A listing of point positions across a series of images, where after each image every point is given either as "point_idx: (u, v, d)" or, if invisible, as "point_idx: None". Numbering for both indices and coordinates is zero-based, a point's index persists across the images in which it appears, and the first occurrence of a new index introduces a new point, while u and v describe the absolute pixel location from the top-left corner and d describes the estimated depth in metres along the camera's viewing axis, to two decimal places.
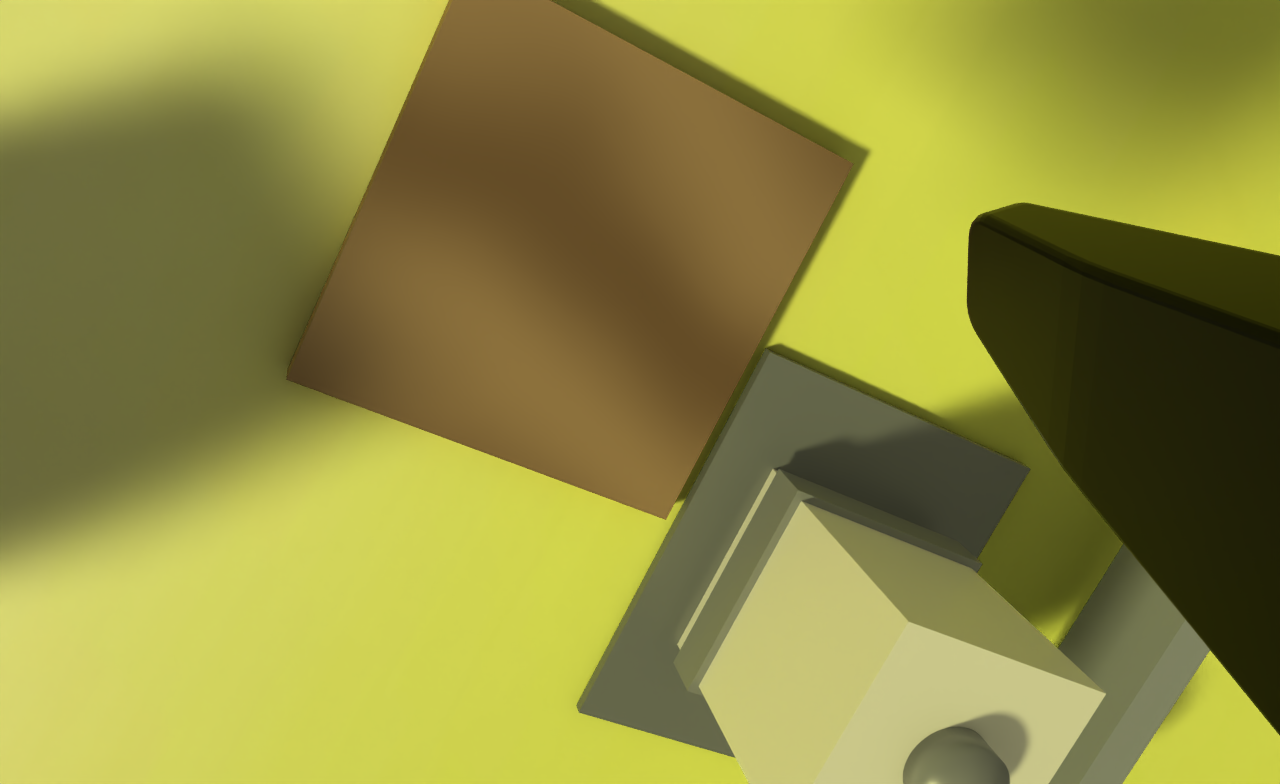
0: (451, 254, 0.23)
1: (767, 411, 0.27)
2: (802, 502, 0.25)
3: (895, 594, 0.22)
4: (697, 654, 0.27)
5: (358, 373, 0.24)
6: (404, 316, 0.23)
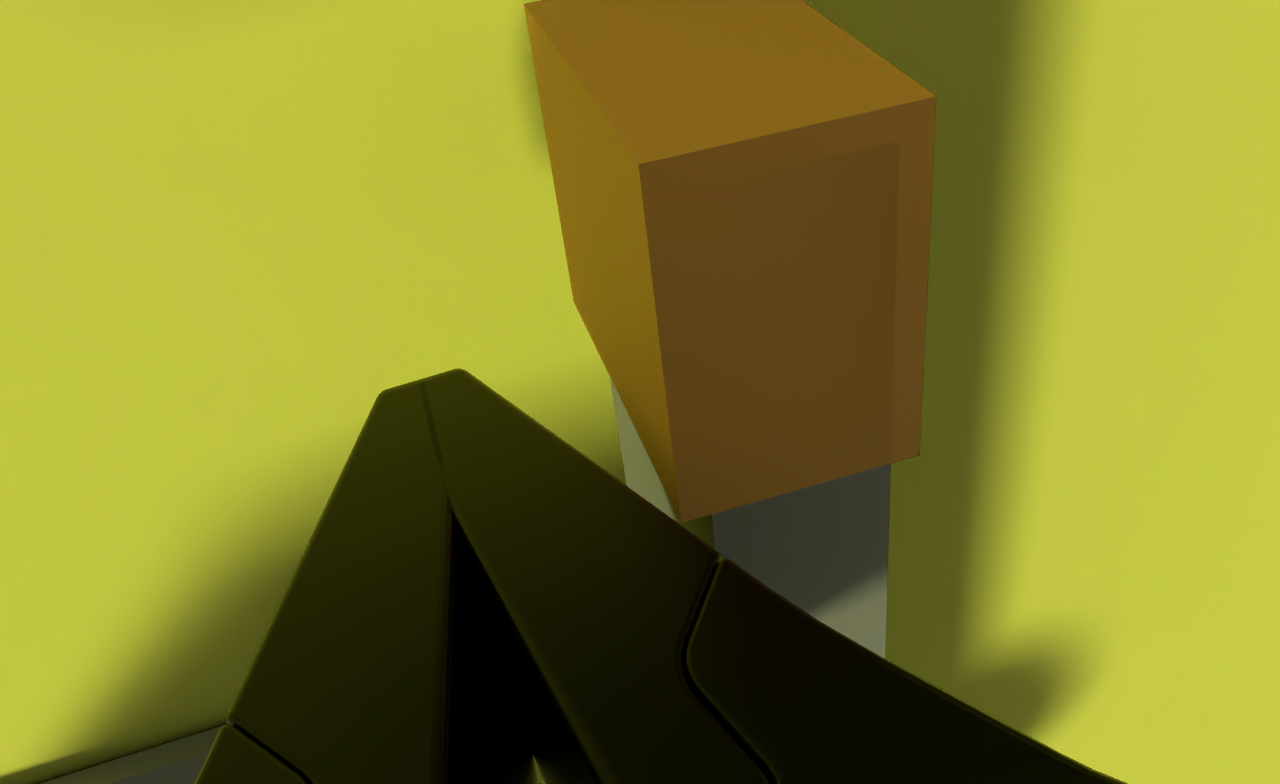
0: None
1: None
2: None
3: None
4: None
5: None
6: None
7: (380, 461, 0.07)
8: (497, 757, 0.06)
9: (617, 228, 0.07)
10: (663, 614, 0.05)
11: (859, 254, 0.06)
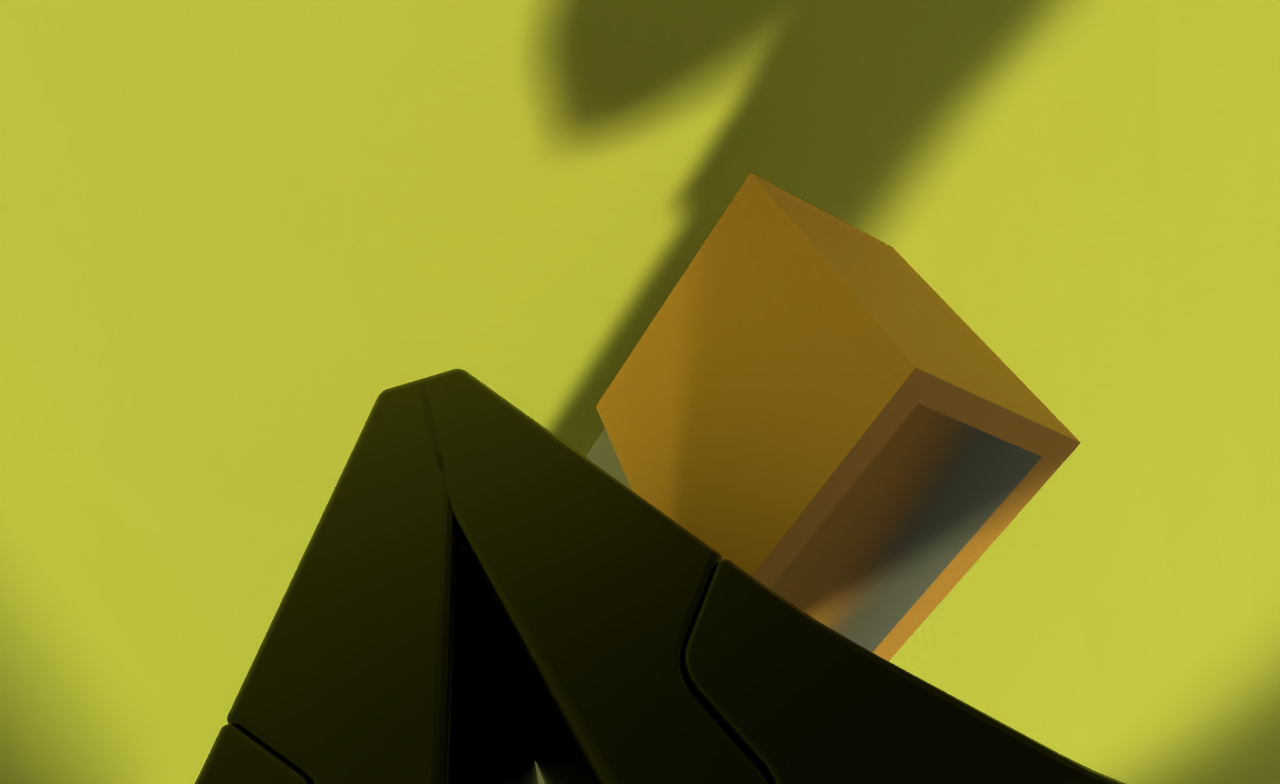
0: None
1: None
2: None
3: None
4: None
5: None
6: None
7: (381, 461, 0.07)
8: (499, 757, 0.06)
9: (803, 391, 0.08)
10: (663, 615, 0.05)
11: (961, 516, 0.08)
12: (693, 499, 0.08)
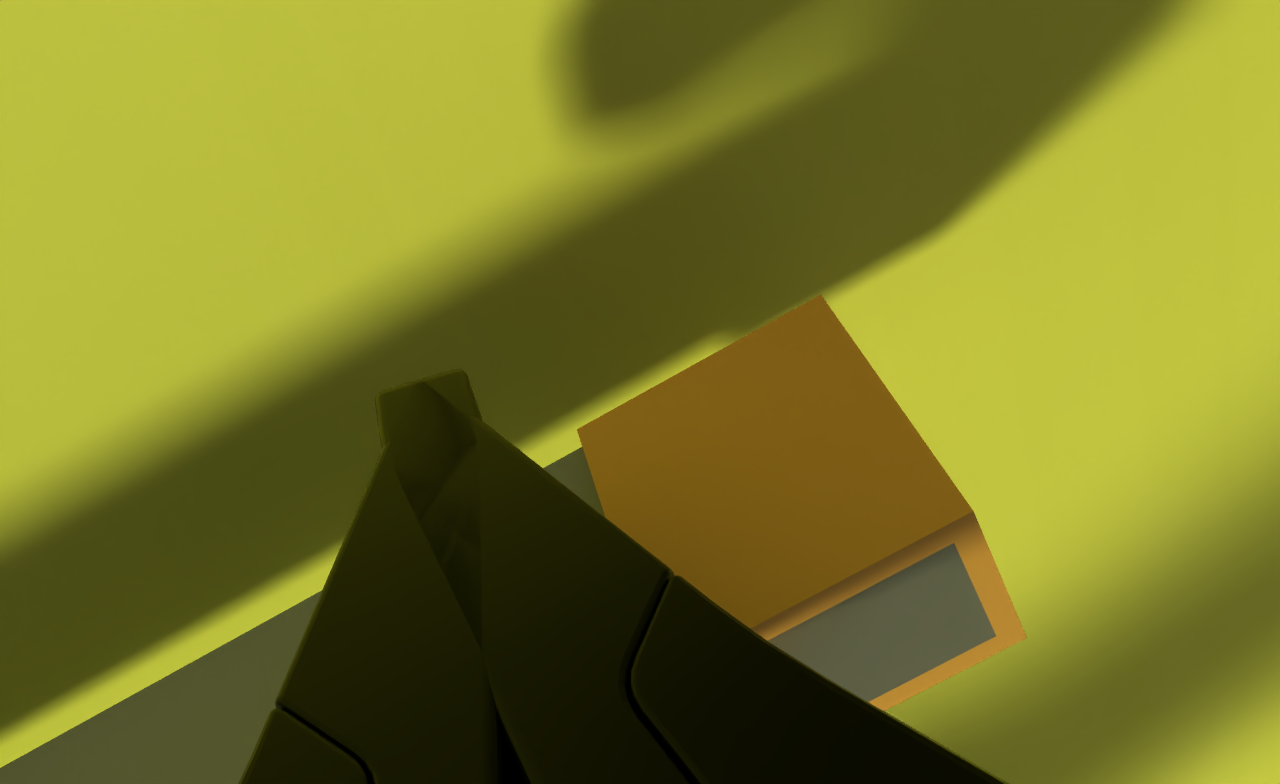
0: None
1: None
2: None
3: None
4: None
5: None
6: None
7: (416, 450, 0.07)
8: None
9: (840, 492, 0.08)
10: (610, 632, 0.05)
11: (913, 659, 0.08)
12: (683, 546, 0.09)
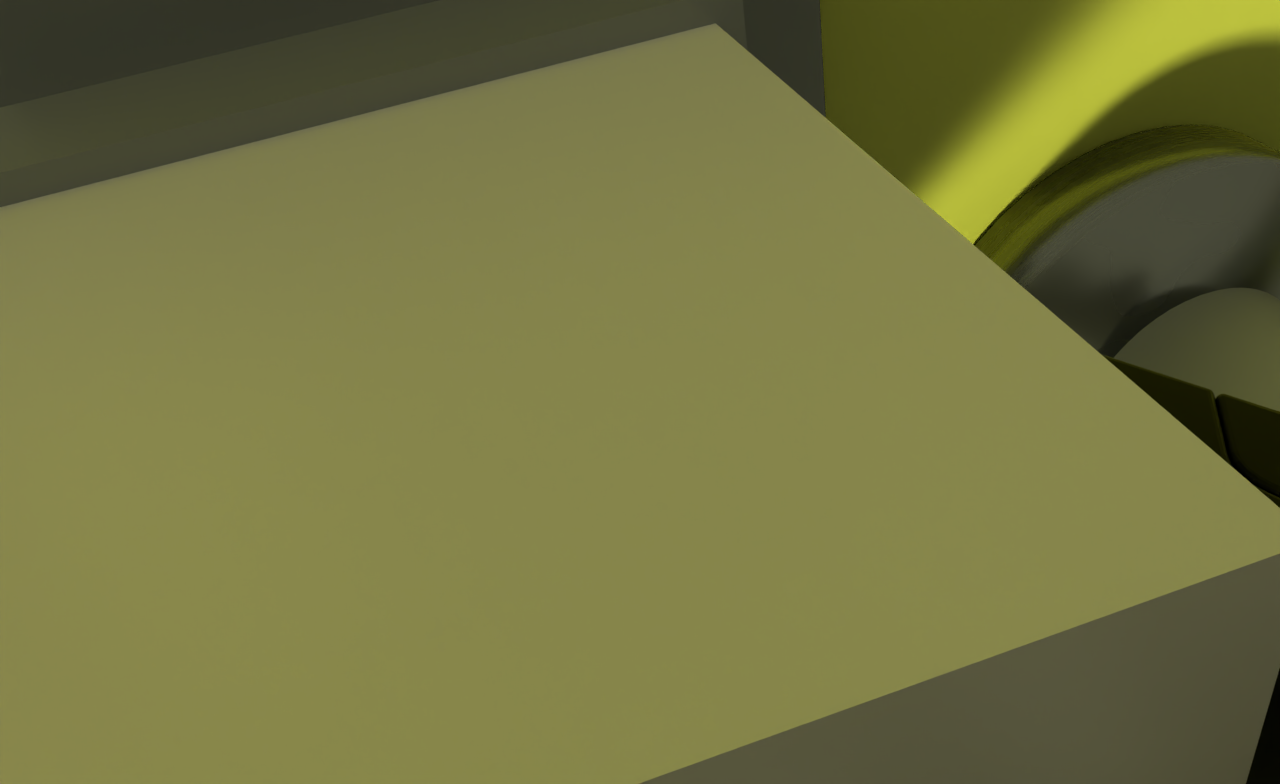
0: None
1: None
2: None
3: None
4: None
5: None
6: None
7: None
8: None
9: None
10: None
11: None
12: None
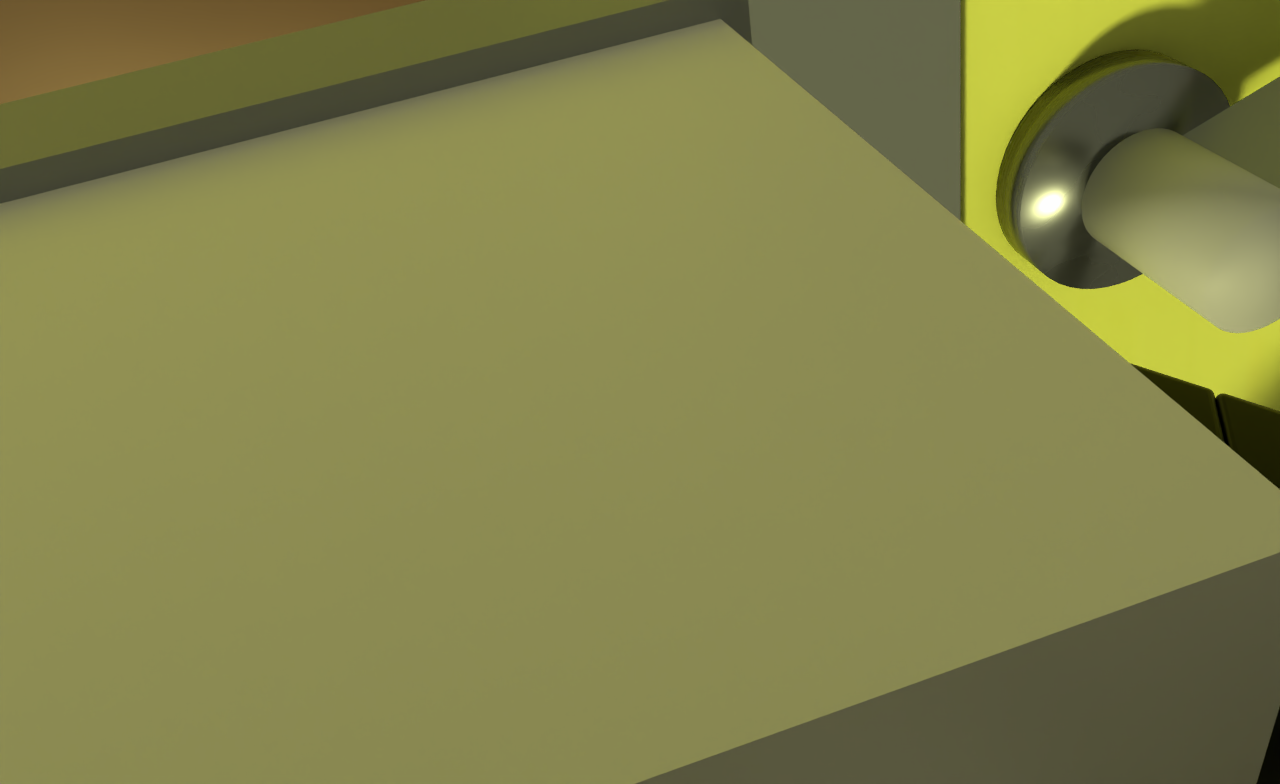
0: (54, 84, 0.18)
1: None
2: None
3: None
4: None
5: None
6: None
7: None
8: None
9: None
10: None
11: None
12: None
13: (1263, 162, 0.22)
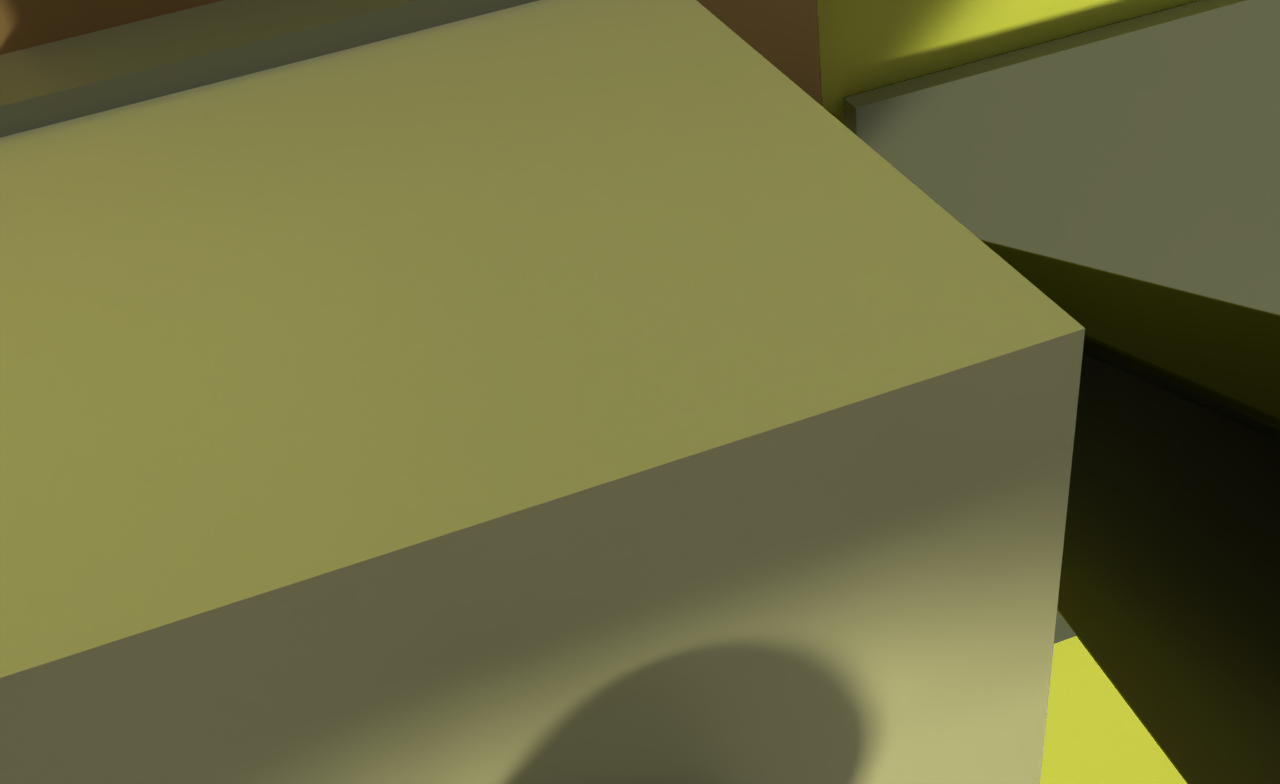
0: None
1: None
2: None
3: None
4: None
5: None
6: None
7: None
8: None
9: None
10: None
11: None
12: None
13: None
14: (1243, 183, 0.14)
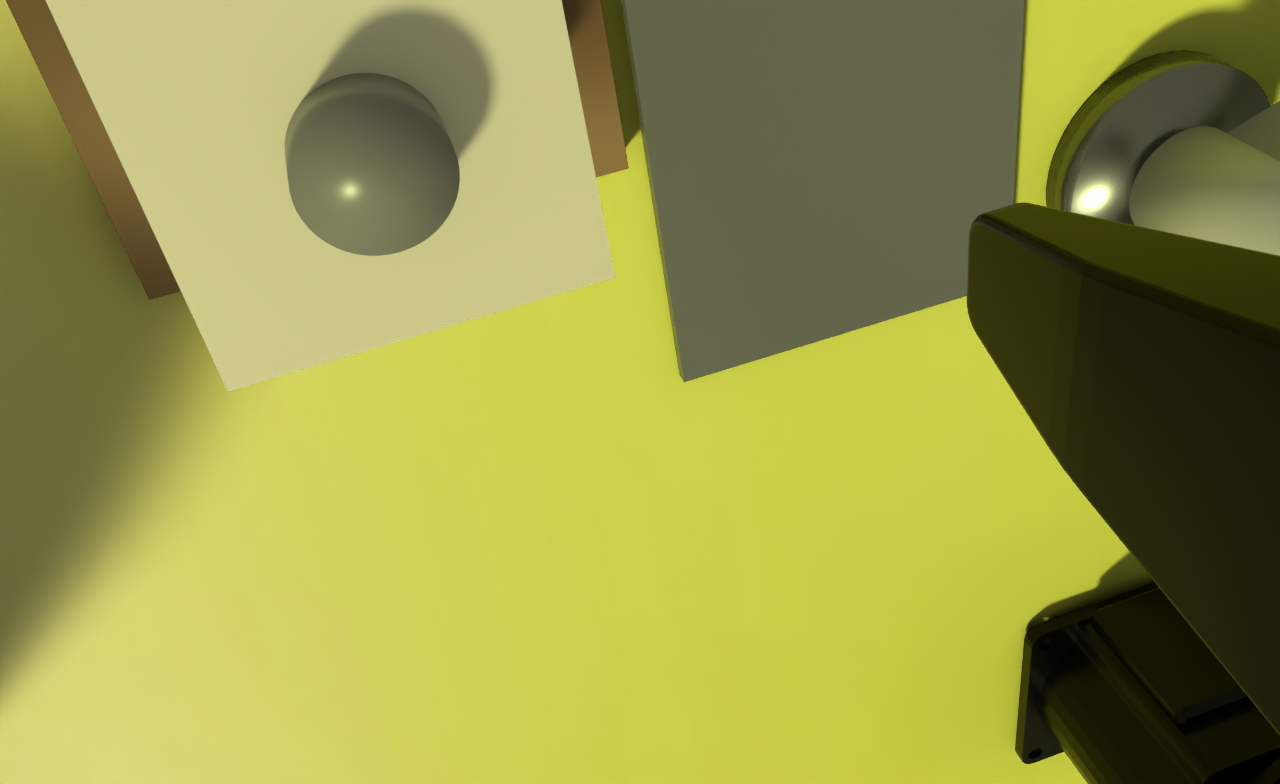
0: None
1: None
2: None
3: None
4: None
5: None
6: None
7: None
8: None
9: None
10: None
11: None
12: None
13: None
14: None
